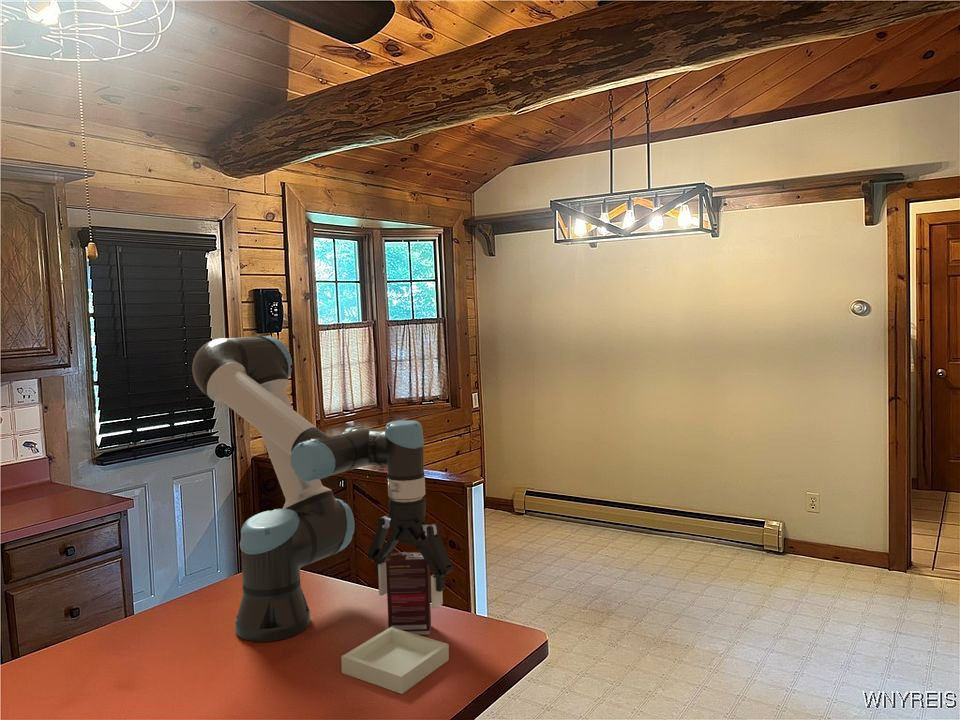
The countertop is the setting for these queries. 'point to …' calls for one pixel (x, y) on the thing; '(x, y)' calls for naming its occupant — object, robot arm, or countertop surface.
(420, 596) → the supplement box
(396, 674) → the tray
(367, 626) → the countertop surface
